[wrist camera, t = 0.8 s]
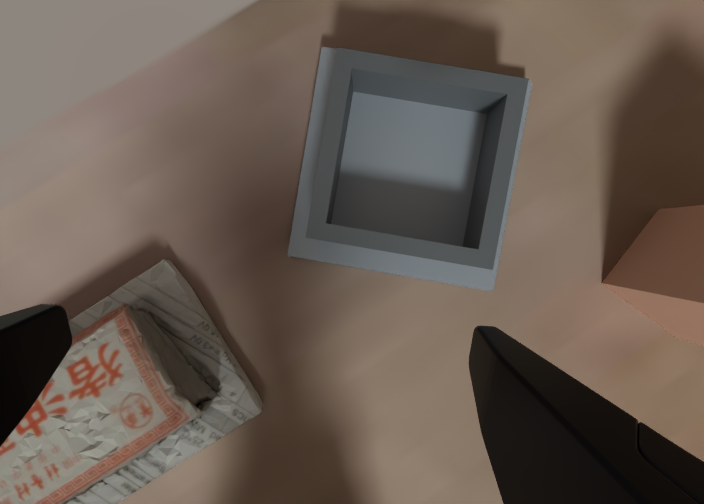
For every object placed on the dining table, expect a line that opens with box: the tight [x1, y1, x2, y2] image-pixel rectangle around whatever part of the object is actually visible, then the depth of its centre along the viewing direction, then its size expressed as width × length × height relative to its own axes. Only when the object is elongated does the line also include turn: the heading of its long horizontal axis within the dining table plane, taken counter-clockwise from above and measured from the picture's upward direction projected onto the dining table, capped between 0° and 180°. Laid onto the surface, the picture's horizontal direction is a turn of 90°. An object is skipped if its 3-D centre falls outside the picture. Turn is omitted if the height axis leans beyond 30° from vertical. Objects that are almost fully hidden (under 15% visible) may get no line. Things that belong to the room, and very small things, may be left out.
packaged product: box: [0, 259, 263, 504], centre depth 22 cm, size 18×5×10 cm
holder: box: [287, 47, 533, 291], centre depth 20 cm, size 11×11×4 cm
